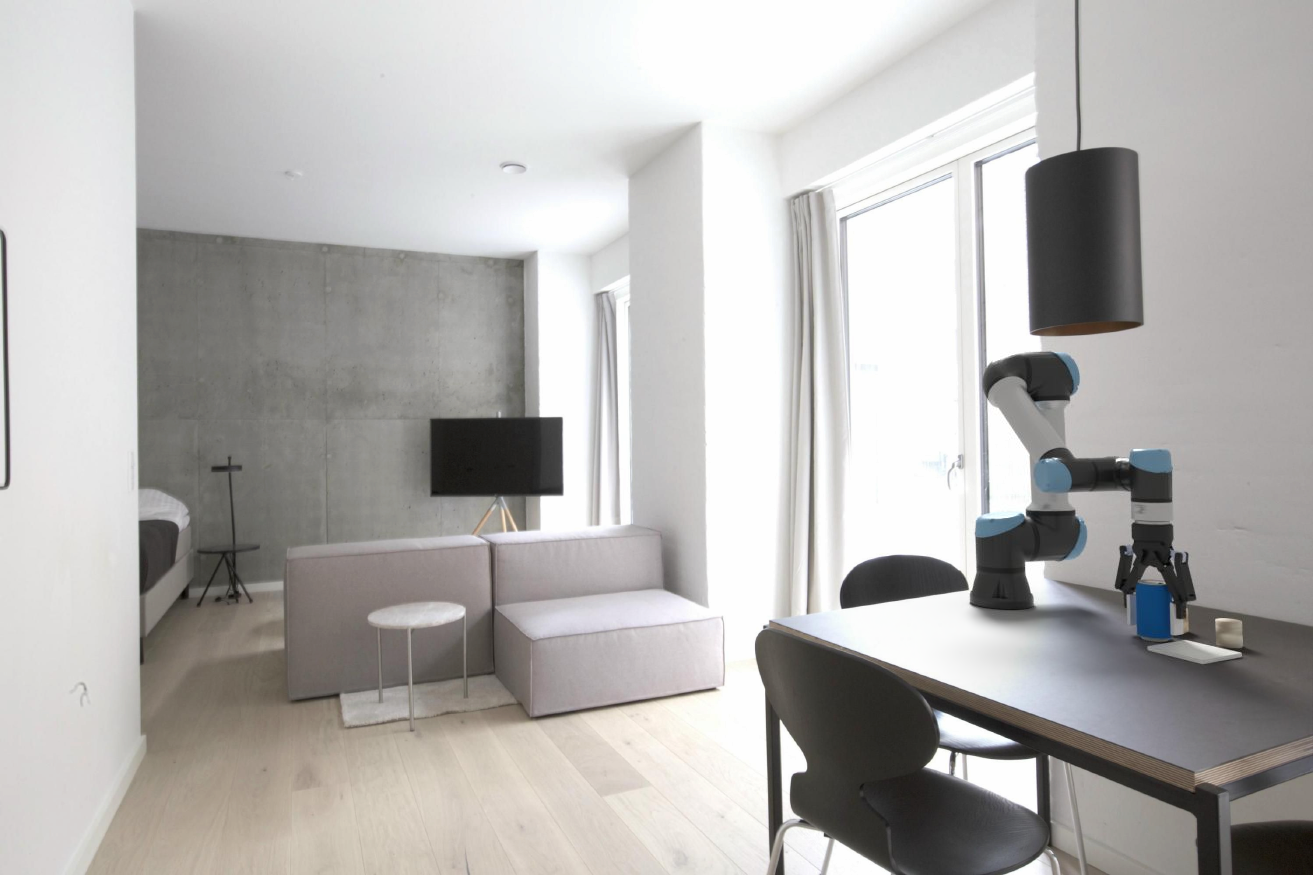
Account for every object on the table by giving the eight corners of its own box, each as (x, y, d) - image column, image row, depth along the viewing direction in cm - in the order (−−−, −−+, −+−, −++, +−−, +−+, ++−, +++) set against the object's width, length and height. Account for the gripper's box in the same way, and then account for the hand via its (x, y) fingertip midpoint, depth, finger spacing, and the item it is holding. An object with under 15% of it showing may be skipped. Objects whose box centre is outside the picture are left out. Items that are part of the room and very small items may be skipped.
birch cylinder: (1211, 644, 163) (1210, 619, 163) (1225, 641, 165) (1224, 617, 165) (1233, 649, 159) (1232, 623, 159) (1248, 646, 161) (1247, 621, 161)
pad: (1147, 650, 160) (1147, 646, 160) (1185, 643, 164) (1185, 639, 164) (1202, 664, 150) (1202, 659, 150) (1241, 656, 154) (1241, 652, 154)
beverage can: (1178, 643, 165) (1177, 584, 165) (1144, 642, 166) (1142, 584, 166) (1165, 635, 171) (1164, 579, 171) (1132, 634, 172) (1130, 578, 172)
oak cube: (1153, 631, 175) (1152, 608, 175) (1163, 627, 178) (1162, 605, 178) (1178, 635, 171) (1178, 612, 171) (1188, 631, 174) (1188, 608, 174)
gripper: (1093, 518, 177) (1096, 620, 177) (1190, 527, 157) (1193, 643, 157) (1118, 516, 180) (1120, 617, 180) (1216, 525, 160) (1219, 638, 160)
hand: (1154, 629), depth 168 cm, fingers open, 9 cm apart
